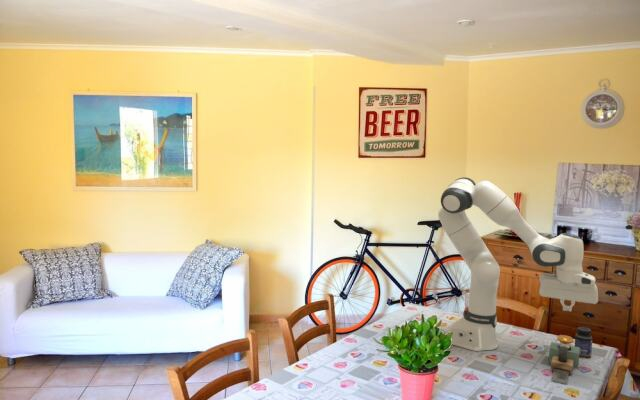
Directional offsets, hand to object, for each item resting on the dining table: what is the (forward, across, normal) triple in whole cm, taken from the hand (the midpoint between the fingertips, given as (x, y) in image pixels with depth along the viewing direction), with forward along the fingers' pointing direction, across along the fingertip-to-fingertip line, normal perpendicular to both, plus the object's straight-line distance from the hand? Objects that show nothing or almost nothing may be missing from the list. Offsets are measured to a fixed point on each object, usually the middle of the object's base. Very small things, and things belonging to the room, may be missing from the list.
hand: (567, 310), depth 186 cm
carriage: (+21, 0, -8) cm, 22 cm away
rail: (+21, 0, -12) cm, 24 cm away
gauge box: (+21, 0, 0) cm, 21 cm away
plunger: (+17, 0, 0) cm, 17 cm away
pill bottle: (+21, +6, +12) cm, 25 cm away
